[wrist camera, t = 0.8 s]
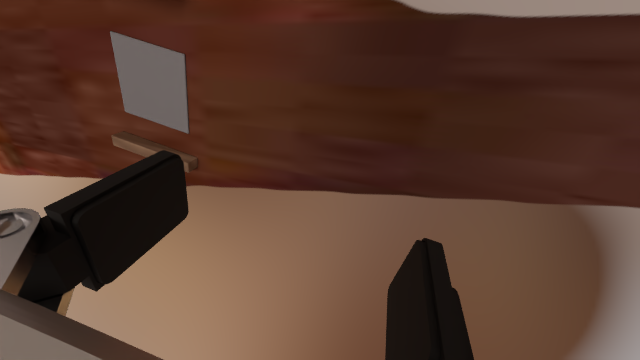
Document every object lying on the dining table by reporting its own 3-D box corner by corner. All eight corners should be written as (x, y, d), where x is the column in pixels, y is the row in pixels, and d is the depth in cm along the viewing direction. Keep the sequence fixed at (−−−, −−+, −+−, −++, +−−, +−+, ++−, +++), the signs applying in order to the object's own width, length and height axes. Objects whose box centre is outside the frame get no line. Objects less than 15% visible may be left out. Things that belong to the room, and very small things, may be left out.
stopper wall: (123, 131, 48) (111, 135, 46) (197, 157, 47) (188, 163, 45) (125, 140, 50) (113, 145, 47) (197, 166, 48) (188, 172, 46)
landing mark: (110, 31, 39) (109, 31, 39) (185, 54, 38) (184, 54, 38) (126, 111, 46) (125, 111, 46) (189, 133, 45) (188, 133, 45)
